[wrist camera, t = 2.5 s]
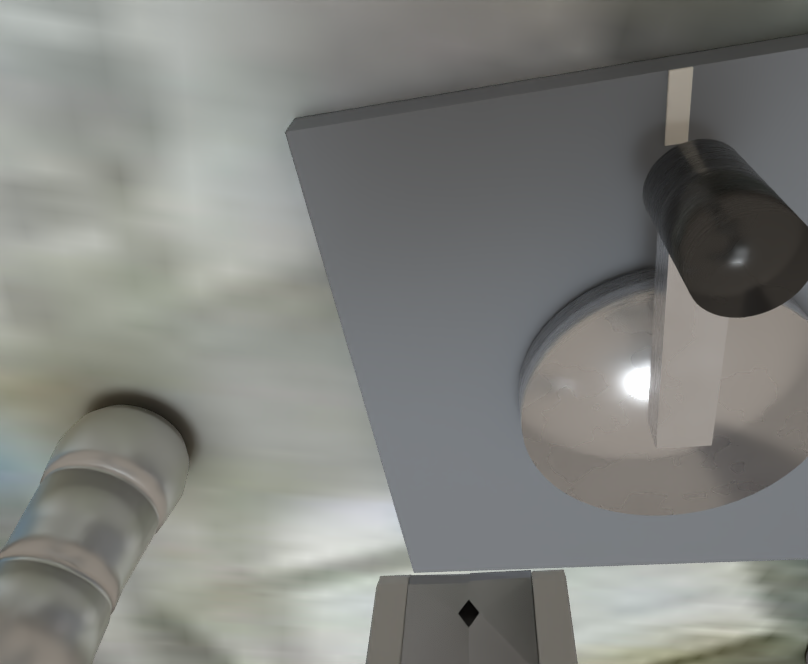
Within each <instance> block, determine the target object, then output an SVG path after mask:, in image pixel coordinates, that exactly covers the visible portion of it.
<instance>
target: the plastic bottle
mask: <svg viewBox="0 0 808 664" xmlns="http://www.w3.org/2000/svg"><path fill="white" fill-rule="evenodd" d="M188 471H189V456H188V453H187V449H186V446H185V442H184V440H183V438H182V436H181V434H180V433H179V432H178V431H177V429H176V428H175V427H174V426H173V425H172V424H171V423H170V422H168V421H167V420H166V419H164V418H163V417H161V416H160V415H158V414H156V413H154V412H152V411H150V410H147V409H144V408H141V407H137V406H132V405H113V406H108V407H105V408H102V409H98V410H95V411H92V412H90V413H88V414H86V415H85V416H83V417H82V418H81V419H80V420H79V421H78V422H77V423H76V424H75V425H74V426H73V427H72V428H71V429H70V430H69V431H67V432H66V433H65V435H64V436H63V437H62V438H61V439H60V440H59V442H58V444H57V446H56V448H55V450H54V452H53V454H52V456H51V458H50V460H49V462H48V464H47V466H46V468H45V471H44V474H43V476H42V479H41V481H40V485H39V487H38V489H37V490H36V492H35V494H34V496H33V498H32V499H31V501H30V503H29V505H28V506H27V508H26V510H25V512H24V513H23V515H22V517H21V519H20V520H19V522H18V524H17V526H16V527H15V529H14V531H13V533H12V534H11V536H10V538H9V540H8V542H7V543H6V545H5V546H4V547H3V548H2V550H1V551H0V664H92V663H93V660H94V657H95V654H96V652H97V650H98V647H99V645H100V643H101V640H102V638H103V635H104V633H105V631H106V628H107V626H108V624H109V620H110V615H111V614H112V612H113V611H114V609H115V607H116V605H117V602H118V600H119V597H120V595H121V593H122V590H123V588H124V587H125V585H126V583H127V581H128V580H129V578H130V576H131V574H132V573H133V571H134V569H135V567H136V566H137V564H138V562H139V561H140V559H141V557H142V555H143V554H144V552H145V550H146V548H147V547H148V545H149V543H150V542H151V540H152V538H153V536H154V535H155V534H156V533H157V531H158V530H159V529H160V528H161V526H162V525H163V524H164V522H165V521H166V520H167V518H168V517H169V515H170V514H171V512H172V511H173V509H174V507H175V506H176V504H177V503H178V501H179V500H180V498H181V496H182V494H183V491H184V487H185V483H186V479H187V475H188Z"/></svg>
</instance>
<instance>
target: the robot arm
mask: <svg viewBox="0 0 808 664" xmlns="http://www.w3.org/2000/svg"><path fill="white" fill-rule="evenodd" d="M532 582H533V583H532ZM366 664H578V662H577V655H576V647H575V640H574V633H573V625H572V618H571V611H570V603H569V596H568V589H567V581H566V576H565V573H564V570H546V571H532V575H531V570H525V571H505V572H486V573H470V574H448V575H394V576H380V579H379V581H378V584H377V587H376V594H375V601H374V608H373V615H372V622H371V629H370V637H369V644H368V651H367V658H366Z"/></svg>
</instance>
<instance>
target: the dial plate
mask: <svg viewBox="0 0 808 664" xmlns="http://www.w3.org/2000/svg"><path fill="white" fill-rule="evenodd" d="M285 134H286V137H287V140H288V144H289V147H290V151H291V154H292V157H293V161H294V164H295V168H296V171H297V175H298V178H299V181H300V185H301V188H302V192H303V195H304V199H305V202H306V205H307V209H308V212H309V216H310V219H311V222H312V226H313V229H314V233H315V236H316V240H317V243H318V246H319V250H320V253H321V257H322V260H323V263H324V267H325V270H326V274H327V277H328V281H329V284H330V287H331V291H332V294H333V298H334V301H335V304H336V308H337V311H338V315H339V318H340V322H341V325H342V328H343V332H344V335H345V339H346V342H347V346H348V349H349V352H350V356H351V359H352V363H353V366H354V369H355V373H356V376H357V380H358V383H359V387H360V390H361V393H362V397H363V400H364V404H365V407H366V410H367V414H368V417H369V421H370V424H371V428H372V431H373V434H374V438H375V441H376V445H377V448H378V452H379V455H380V458H381V462H382V465H383V469H384V472H385V475H386V479H387V482H388V486H389V489H390V493H391V496H392V499H393V503H394V506H395V510H396V513H397V516H398V520H399V523H400V527H401V530H402V534H403V537H404V540H405V544H406V547H407V551H408V554H409V557H410V561H411V564H412V568H413V571H414V573H418V572H447V571H476V570H505V569H533V568H562V567H591V566H620V565H649V564H678V563H707V562H736V561H764V560H793V559H808V457H807V458H806V459H805V460H804V461H803V462H802V463H801V464H800V465H798V466H797V467H796V468H795V469H793V470H792V471H791V472H790V473H789V474H787V475H786V476H784V477H783V478H781V479H780V480H778V481H777V482H775V483H773V484H772V485H770V486H768V487H766V488H764V489H762V490H761V491H759V492H757V493H755V494H752V495H750V496H748V497H745V498H743V499H741V500H738V501H735V502H732V503H729V504H726V505H723V506H720V507H716V508H712V509H708V510H704V511H699V512H693V513H686V514H677V515H666V516H645V515H632V514H625V513H619V512H613V511H609V510H605V509H601V508H597V507H594V506H592V505H589V504H586V503H584V502H581V501H579V500H577V499H575V498H573V497H571V496H569V495H567V494H566V493H564V492H563V491H561V490H560V489H558V488H557V487H555V486H554V485H553V484H552V483H551V482H550V481H548V480H547V479H546V478H545V477H544V476H543V475H542V473H541V472H540V471H539V470H538V469H537V468H536V466H535V464H534V463H533V461H532V460H531V458H530V456H529V454H528V451H527V449H526V446H525V444H524V439H523V434H522V427H521V417H520V406H519V379H520V372H521V369H522V366H523V363H524V360H525V357H526V355H527V353H528V351H529V349H530V347H531V345H532V343H533V342H534V340H535V339H536V337H537V336H538V335H539V333H540V332H541V330H542V329H543V328H544V327H545V326H546V325H547V324H548V323H549V322H550V320H551V319H552V318H553V317H554V316H555V315H556V314H558V313H559V312H560V311H561V310H562V309H564V308H565V307H566V306H567V305H568V304H570V303H571V302H573V301H574V300H576V299H577V298H579V297H580V296H582V295H583V294H585V293H586V292H588V291H590V290H592V289H594V288H596V287H598V286H600V285H602V284H604V283H606V282H608V281H611V280H613V279H616V278H619V277H621V276H624V275H627V274H630V273H634V272H638V271H641V270H645V269H649V268H655V264H656V244H657V230H656V228H655V226H654V224H653V222H652V220H651V218H650V216H649V215H648V213H647V211H646V209H645V206H644V202H643V186H644V182H645V179H646V177H647V175H648V173H649V171H650V169H651V168H652V166H653V165H654V164H655V162H656V161H657V160H658V159H659V158H660V157H661V156H662V155H663V154H665V153H666V152H667V151H669V150H670V149H672V148H674V147H675V146H677V145H680V144H682V143H685V142H688V141H691V140H696V139H713V140H718V141H721V142H724V143H726V144H728V145H729V146H731V147H732V148H734V149H735V150H736V151H737V152H738V154H739V155H740V156H741V157H742V158H743V159H744V160H745V161H746V162H747V163H748V164H749V165H750V166H751V167H752V168H753V169H754V170H755V171H756V172H757V174H758V175H759V176H760V177H761V178H762V179H763V180H764V181H765V182H766V183H767V184H768V185H769V186H770V187H771V188H772V189H773V190H774V191H775V192H776V193H777V195H778V196H779V197H780V198H781V199H782V200H783V201H784V202H785V203H786V204H787V205H788V206H789V207H790V208H791V209H792V210H793V211H794V212H795V213H796V215H797V216H798V217H799V218H800V219H801V220H802V221H803V222H804V223H805V224H806V225H807V226H808V34H803V35H797V36H791V37H785V38H779V39H773V40H767V41H761V42H755V43H749V44H742V45H736V46H730V47H724V48H718V49H712V50H706V51H700V52H694V53H688V54H682V55H676V56H670V57H664V58H658V59H652V60H646V61H640V62H634V63H628V64H621V65H615V66H609V67H603V68H597V69H591V70H585V71H579V72H573V73H567V74H561V75H555V76H549V77H543V78H537V79H531V80H525V81H519V82H513V83H506V84H500V85H494V86H488V87H482V88H476V89H470V90H464V91H458V92H452V93H446V94H440V95H434V96H428V97H422V98H416V99H410V100H404V101H398V102H392V103H385V104H379V105H373V106H367V107H361V108H355V109H349V110H343V111H337V112H331V113H325V114H319V115H313V116H307V117H301V118H295V119H294V120H293V122H292V123H291V124H290V126H289V127H288V129H287V130H286V132H285ZM792 299H793V300H794V301H795V302H796V303H797V304H798V305H799V306H800V308H801V309H802V310H803V312H804V313H805V314H806V316H807V317H808V281H807V283H806V284H805V285H804V286H803V288H802V289H801V290H800V291H799V292H798V293H797V294H796V295H794V296H793V297H792Z"/></svg>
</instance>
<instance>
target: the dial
mask: <svg viewBox="0 0 808 664" xmlns="http://www.w3.org/2000/svg"><path fill="white" fill-rule="evenodd" d="M643 202H644V206H645V209H646V211H647V213H648V215H649V216H650V218H651V220H652V222H653V224H654V226H655V228H656V230H657V244H656V264H655V268H649V269H645V270H641V271H638V272H634V273H630V274H627V275H624V276H621V277H619V278H616V279H613V280H611V281H608V282H606V283H604V284H602V285H600V286H598V287H596V288H594V289H592V290H590V291H588V292H586V293H585V294H583V295H582V296H580V297H579V298H577V299H576V300H574V301H573V302H571V303H570V304H568V305H567V306H566V307H565V308H564V309H562V310H561V311H560V312H559V313H558V314H556V315H555V316H554V317H553V318H552V319H551V320H550V322H549V323H548V324H547V325H546V326H545V327H544V328H543V329H542V330H541V332H540V333H539V335H538V336H537V337H536V339H535V340H534V342H533V343H532V345H531V347H530V349H529V351H528V353H527V355H526V357H525V360H524V363H523V366H522V369H521V372H520V379H519V406H520V417H521V427H522V434H523V439H524V444H525V446H526V449H527V451H528V454H529V456H530V458H531V460H532V461H533V463H534V464H535V466H536V468H537V469H538V470H539V471H540V472H541V473H542V475H543V476H544V477H545V478H546V479H547V480H548V481H550V482H551V483H552V484H553V485H554V486H555V487H557V488H558V489H560V490H561V491H563V492H564V493H566V494H567V495H569V496H571V497H573V498H575V499H577V500H579V501H581V502H584V503H586V504H589V505H592V506H594V507H597V508H601V509H605V510H609V511H613V512H619V513H625V514H632V515H645V516H666V515H677V514H686V513H693V512H699V511H704V510H708V509H712V508H716V507H720V506H723V505H726V504H729V503H732V502H735V501H738V500H741V499H743V498H745V497H748V496H750V495H752V494H755V493H757V492H759V491H761V490H762V489H764V488H766V487H768V486H770V485H772V484H773V483H775V482H777V481H778V480H780V479H781V478H783V477H784V476H786V475H787V474H789V473H790V472H791V471H792V470H793V469H795V468H796V467H797V466H798V465H800V464H801V463H802V462H803V461H804V460H805V459H806V458H807V457H808V317H807V316H806V314H805V313H804V312H803V310H802V309H801V308H800V306H799V305H798V304H797V303H796V302H795V301H794V300H793V299H792V297H793V296H794V295H796V294H797V293H798V292H799V291H800V290H801V289H802V288H803V286H804V285H805V284H806V283H807V281H808V226H807V225H806V224H805V223H804V222H803V221H802V220H801V219H800V218H799V217H798V216H797V215H796V213H795V212H794V211H793V210H792V209H791V208H790V207H789V206H788V205H787V204H786V203H785V202H784V201H783V200H782V199H781V198H780V197H779V196H778V195H777V193H776V192H775V191H774V190H773V189H772V188H771V187H770V186H769V185H768V184H767V183H766V182H765V181H764V180H763V179H762V178H761V177H760V176H759V175H758V174H757V172H756V171H755V170H754V169H753V168H752V167H751V166H750V165H749V164H748V163H747V162H746V161H745V160H744V159H743V158H742V157H741V156H740V155H739V154H738V152H737V151H736V150H735V149H734V148H732V147H731V146H729V145H728V144H726V143H724V142H721V141H718V140H713V139H696V140H691V141H688V142H685V143H682V144H680V145H677V146H675V147H674V148H672V149H670V150H669V151H667V152H666V153H665V154H663V155H662V156H661V157H660V158H659V159H658V160H657V161H656V162H655V164H654V165H653V166H652V168H651V169H650V171H649V173H648V175H647V177H646V179H645V182H644V186H643Z"/></svg>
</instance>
